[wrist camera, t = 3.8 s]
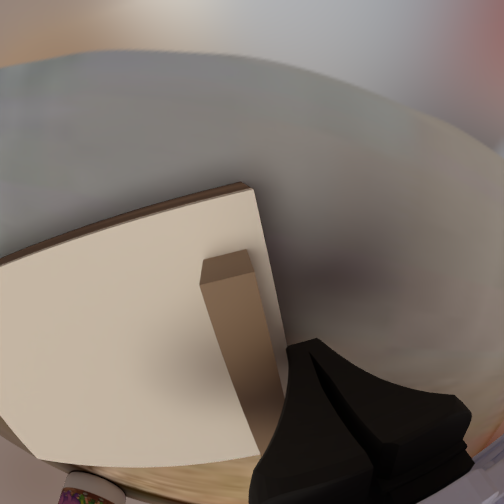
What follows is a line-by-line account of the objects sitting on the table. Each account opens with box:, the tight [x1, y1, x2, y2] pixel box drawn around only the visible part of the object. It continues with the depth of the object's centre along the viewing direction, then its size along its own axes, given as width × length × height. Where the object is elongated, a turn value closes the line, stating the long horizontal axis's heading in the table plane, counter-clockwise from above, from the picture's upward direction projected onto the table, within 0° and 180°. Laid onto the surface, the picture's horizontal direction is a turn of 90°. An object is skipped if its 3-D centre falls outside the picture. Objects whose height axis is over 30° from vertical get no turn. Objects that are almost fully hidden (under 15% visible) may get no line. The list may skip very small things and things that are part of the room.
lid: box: [0, 188, 288, 467], centre depth 11 cm, size 14×20×3 cm
